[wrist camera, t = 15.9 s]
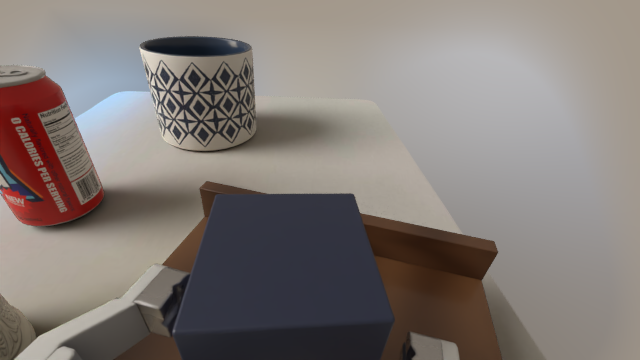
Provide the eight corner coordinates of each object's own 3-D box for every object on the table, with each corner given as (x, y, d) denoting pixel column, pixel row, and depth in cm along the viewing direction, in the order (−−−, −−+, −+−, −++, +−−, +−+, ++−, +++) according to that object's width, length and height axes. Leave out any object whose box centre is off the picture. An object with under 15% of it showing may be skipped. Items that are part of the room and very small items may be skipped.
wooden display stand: (458, 305, 27) (494, 240, 22) (524, 690, 12) (671, 734, 7) (217, 245, 30) (206, 180, 26) (43, 482, 16) (-53, 427, 11)
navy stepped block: (318, 270, 23) (333, 126, 16) (342, 470, 13) (402, 324, 7) (249, 273, 22) (235, 123, 15) (225, 485, 13) (163, 339, 6)
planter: (262, 117, 60) (259, 40, 52) (248, 155, 46) (241, 59, 38) (182, 113, 59) (166, 33, 51) (144, 150, 45) (115, 51, 37)
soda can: (108, 217, 33) (50, 81, 24) (14, 242, 29) (-93, 91, 21) (105, 182, 38) (56, 60, 30) (25, 199, 34) (-57, 65, 26)
